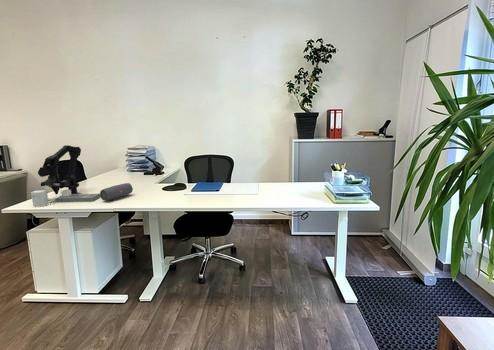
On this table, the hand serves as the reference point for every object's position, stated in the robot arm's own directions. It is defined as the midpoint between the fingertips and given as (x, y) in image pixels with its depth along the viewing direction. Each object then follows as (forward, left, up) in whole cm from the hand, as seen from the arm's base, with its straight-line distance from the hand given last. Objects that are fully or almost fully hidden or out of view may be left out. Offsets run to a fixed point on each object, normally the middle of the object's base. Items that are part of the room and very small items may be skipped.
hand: (56, 194), depth 232 cm
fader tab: (0, +8, -1) cm, 8 cm away
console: (0, +17, -4) cm, 17 cm away
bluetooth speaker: (-2, +46, -5) cm, 46 cm away
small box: (+13, -3, -5) cm, 14 cm away
